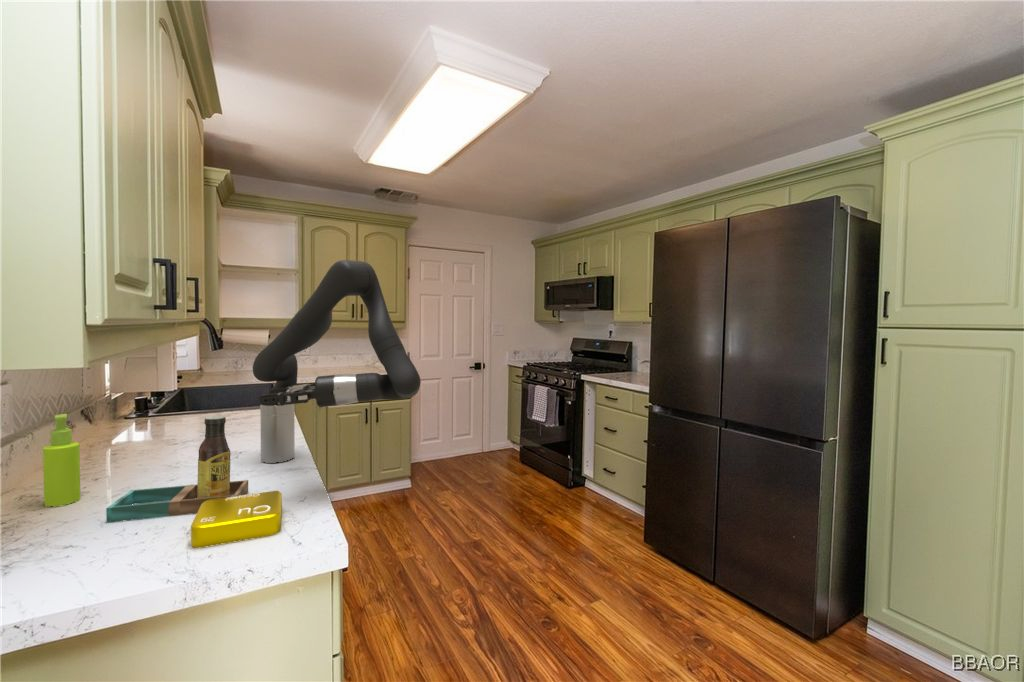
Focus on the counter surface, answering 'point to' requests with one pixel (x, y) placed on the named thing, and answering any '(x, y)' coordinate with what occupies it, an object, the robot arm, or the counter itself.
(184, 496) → the twin dock
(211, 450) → the sauce bottle
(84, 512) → the counter surface
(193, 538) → the element tile
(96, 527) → the counter surface
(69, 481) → the soap dispenser
